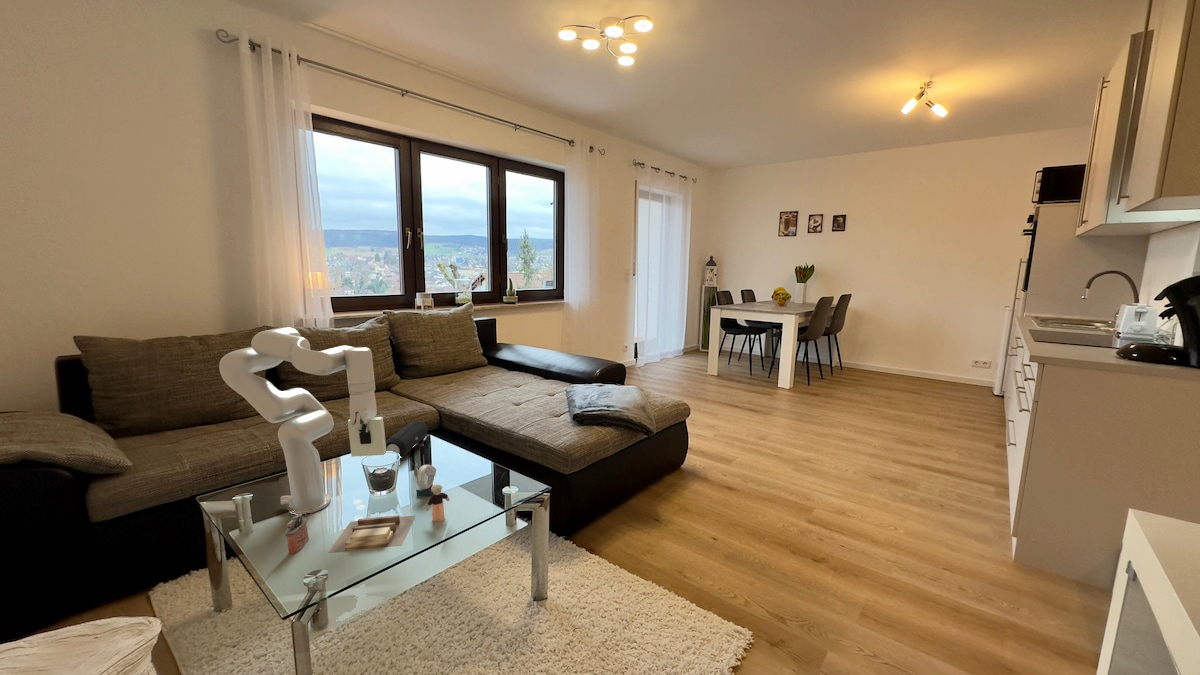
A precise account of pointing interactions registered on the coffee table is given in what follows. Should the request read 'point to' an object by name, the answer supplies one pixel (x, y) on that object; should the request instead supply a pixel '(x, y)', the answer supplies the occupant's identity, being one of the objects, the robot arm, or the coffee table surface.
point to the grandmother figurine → (437, 502)
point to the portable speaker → (406, 438)
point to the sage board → (377, 439)
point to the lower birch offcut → (368, 542)
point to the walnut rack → (395, 523)
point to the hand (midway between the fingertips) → (367, 441)
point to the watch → (426, 488)
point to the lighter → (296, 534)
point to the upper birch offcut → (370, 534)
